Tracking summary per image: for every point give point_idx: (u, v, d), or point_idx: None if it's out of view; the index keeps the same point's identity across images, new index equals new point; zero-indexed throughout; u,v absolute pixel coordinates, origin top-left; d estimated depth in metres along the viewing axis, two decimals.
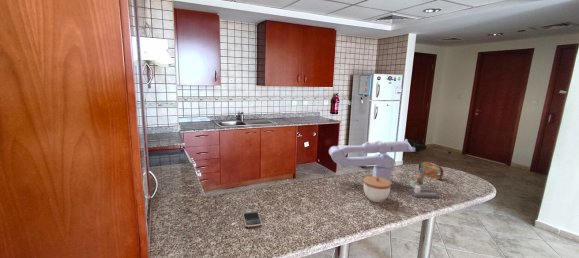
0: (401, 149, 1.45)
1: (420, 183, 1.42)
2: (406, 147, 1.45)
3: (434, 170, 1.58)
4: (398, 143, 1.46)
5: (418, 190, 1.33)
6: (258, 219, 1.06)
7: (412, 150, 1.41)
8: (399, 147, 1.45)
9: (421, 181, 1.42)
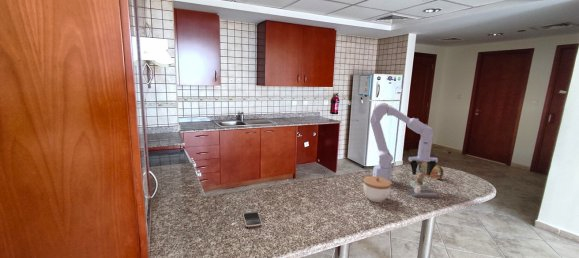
0: (418, 151, 1.41)
1: (420, 183, 1.42)
2: (418, 156, 1.40)
3: (434, 170, 1.58)
4: (429, 150, 1.37)
5: (418, 190, 1.33)
6: (258, 219, 1.06)
7: (409, 158, 1.41)
8: (419, 149, 1.39)
9: (421, 181, 1.42)
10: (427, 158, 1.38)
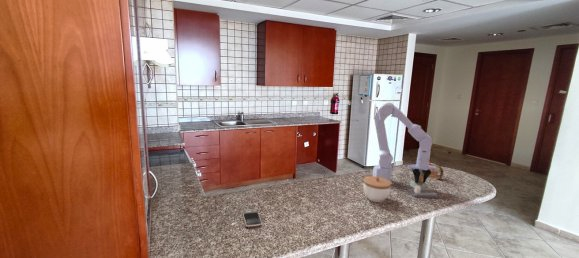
0: (417, 159, 1.42)
1: (420, 183, 1.42)
2: (417, 164, 1.41)
3: None
4: (428, 159, 1.38)
5: (418, 190, 1.33)
6: (258, 219, 1.06)
7: (408, 166, 1.42)
8: (418, 158, 1.40)
9: (421, 181, 1.42)
10: (426, 167, 1.39)
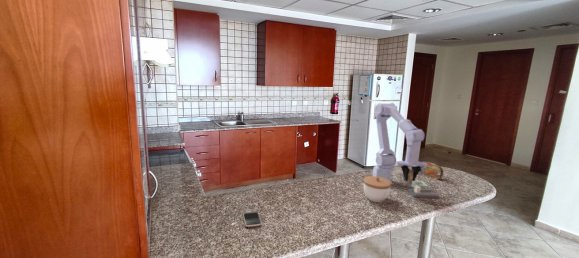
0: (406, 155, 1.32)
1: (409, 181, 1.32)
2: (406, 161, 1.31)
3: (434, 170, 1.58)
4: (413, 155, 1.28)
5: (418, 190, 1.33)
6: (258, 219, 1.06)
7: (396, 162, 1.32)
8: (407, 153, 1.30)
9: (410, 178, 1.32)
10: (415, 163, 1.29)
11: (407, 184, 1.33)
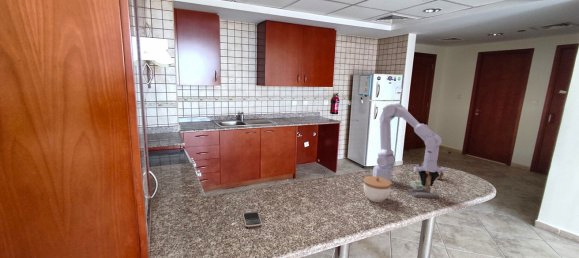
0: (424, 160, 1.33)
1: (427, 186, 1.33)
2: (424, 166, 1.32)
3: None
4: (434, 160, 1.29)
5: (431, 190, 1.34)
6: (258, 219, 1.06)
7: (414, 168, 1.33)
8: (425, 159, 1.31)
9: (428, 184, 1.33)
10: (433, 168, 1.30)
11: (425, 189, 1.34)
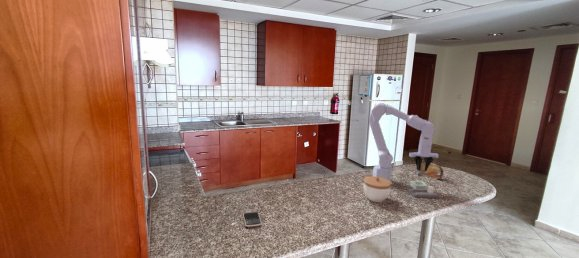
0: (419, 146, 1.40)
1: (422, 171, 1.40)
2: (419, 152, 1.40)
3: (434, 170, 1.58)
4: (430, 146, 1.37)
5: (431, 190, 1.34)
6: (258, 219, 1.06)
7: (409, 153, 1.40)
8: (420, 145, 1.39)
9: (423, 168, 1.40)
10: (428, 154, 1.37)
11: (420, 174, 1.41)
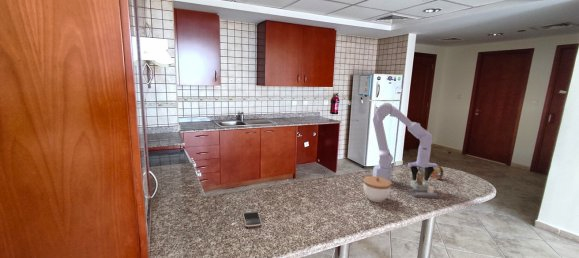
0: (417, 156, 1.41)
1: (419, 183, 1.42)
2: (417, 162, 1.41)
3: (434, 170, 1.59)
4: (428, 156, 1.38)
5: (431, 190, 1.34)
6: (258, 219, 1.06)
7: (408, 163, 1.41)
8: (418, 155, 1.40)
9: (421, 181, 1.42)
10: (426, 164, 1.38)
11: None
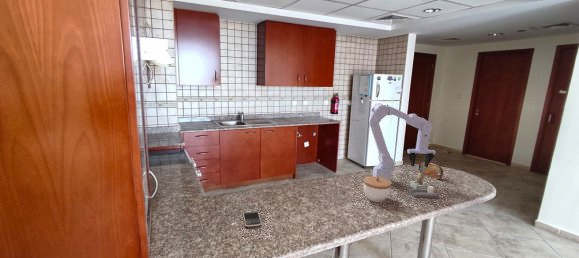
0: None
1: (420, 183, 1.42)
2: (416, 148, 1.46)
3: (434, 170, 1.58)
4: (428, 142, 1.44)
5: (431, 190, 1.34)
6: (258, 219, 1.06)
7: (408, 150, 1.47)
8: (417, 142, 1.45)
9: (421, 181, 1.42)
10: (425, 150, 1.44)
11: None
